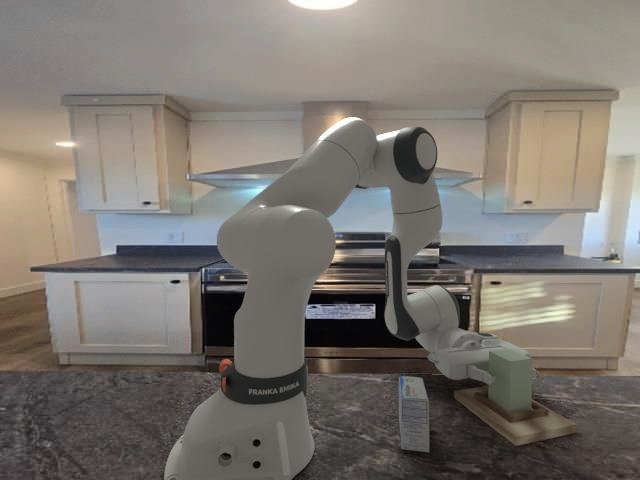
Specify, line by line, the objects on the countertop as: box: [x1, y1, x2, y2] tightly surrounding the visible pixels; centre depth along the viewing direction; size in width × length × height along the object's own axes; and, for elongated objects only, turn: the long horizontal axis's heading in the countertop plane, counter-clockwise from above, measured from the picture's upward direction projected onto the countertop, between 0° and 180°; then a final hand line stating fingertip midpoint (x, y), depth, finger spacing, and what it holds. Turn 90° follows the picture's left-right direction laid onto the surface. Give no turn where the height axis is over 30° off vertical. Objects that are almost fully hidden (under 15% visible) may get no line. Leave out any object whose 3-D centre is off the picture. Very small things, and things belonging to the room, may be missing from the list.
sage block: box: [487, 349, 533, 414], centre depth 59 cm, size 5×5×10 cm
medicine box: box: [398, 375, 430, 453], centre depth 53 cm, size 8×4×9 cm, turn 168°
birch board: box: [453, 385, 577, 447], centre depth 59 cm, size 13×15×2 cm
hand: (513, 377), depth 58 cm, fingers open, 8 cm apart
